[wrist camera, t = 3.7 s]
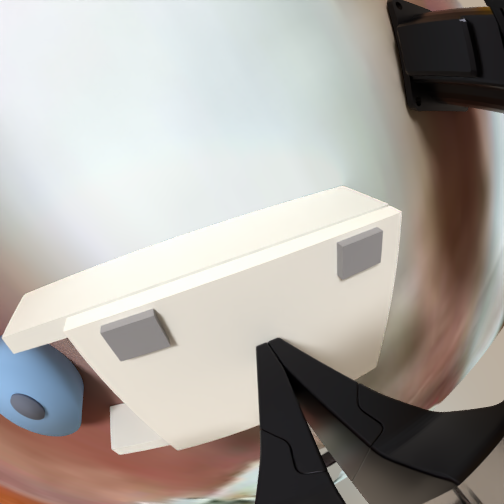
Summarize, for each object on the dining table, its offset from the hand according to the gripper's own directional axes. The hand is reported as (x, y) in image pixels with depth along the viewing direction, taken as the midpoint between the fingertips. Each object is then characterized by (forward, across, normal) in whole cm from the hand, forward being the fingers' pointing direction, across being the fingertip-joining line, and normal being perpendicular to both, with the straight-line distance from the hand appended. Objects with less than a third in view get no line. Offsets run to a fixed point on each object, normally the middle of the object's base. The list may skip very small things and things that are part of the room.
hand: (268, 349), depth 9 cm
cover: (+1, 0, +1) cm, 1 cm away
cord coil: (+4, +12, +1) cm, 13 cm away
